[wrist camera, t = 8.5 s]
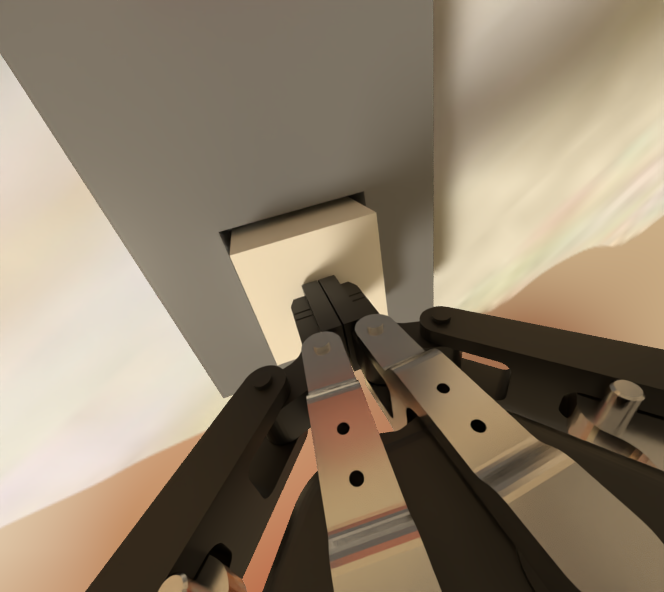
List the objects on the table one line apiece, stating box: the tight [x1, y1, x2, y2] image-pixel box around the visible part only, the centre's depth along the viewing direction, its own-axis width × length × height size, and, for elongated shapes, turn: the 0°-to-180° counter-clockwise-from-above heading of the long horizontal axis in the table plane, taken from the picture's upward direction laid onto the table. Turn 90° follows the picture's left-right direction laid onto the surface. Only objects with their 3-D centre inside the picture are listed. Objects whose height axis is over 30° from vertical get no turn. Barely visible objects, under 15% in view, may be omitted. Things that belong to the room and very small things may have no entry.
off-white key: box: [230, 196, 388, 365], centre depth 14 cm, size 6×6×4 cm
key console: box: [0, 0, 433, 398], centre depth 12 cm, size 14×26×4 cm, turn 11°
